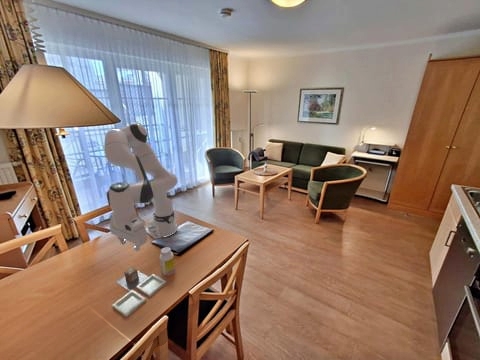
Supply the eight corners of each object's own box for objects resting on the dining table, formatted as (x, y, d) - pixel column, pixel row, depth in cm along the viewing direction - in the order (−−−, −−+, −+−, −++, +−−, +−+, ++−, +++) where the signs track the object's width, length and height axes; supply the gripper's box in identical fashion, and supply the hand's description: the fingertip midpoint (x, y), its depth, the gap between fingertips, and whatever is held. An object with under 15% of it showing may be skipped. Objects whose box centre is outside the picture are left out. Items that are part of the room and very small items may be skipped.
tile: (116, 283, 101) (116, 282, 100) (135, 270, 109) (135, 269, 109) (129, 292, 96) (129, 291, 96) (148, 277, 104) (148, 276, 104)
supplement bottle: (177, 268, 111) (175, 247, 106) (170, 277, 105) (167, 255, 100) (166, 265, 112) (164, 244, 108) (158, 274, 106) (155, 252, 102)
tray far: (113, 308, 88) (112, 304, 88) (132, 292, 96) (132, 289, 95) (126, 318, 84) (125, 315, 84) (146, 301, 92) (145, 298, 91)
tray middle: (136, 289, 97) (136, 286, 97) (153, 276, 105) (152, 273, 104) (150, 297, 93) (149, 294, 93) (166, 284, 101) (165, 280, 100)
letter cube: (125, 280, 102) (124, 271, 100) (133, 275, 105) (131, 266, 103) (131, 284, 100) (129, 275, 98) (138, 278, 103) (137, 269, 101)
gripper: (103, 217, 93) (108, 243, 98) (135, 229, 85) (139, 258, 90) (116, 211, 99) (121, 236, 103) (148, 222, 90) (151, 249, 95)
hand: (130, 246), depth 96 cm, fingers open, 8 cm apart
